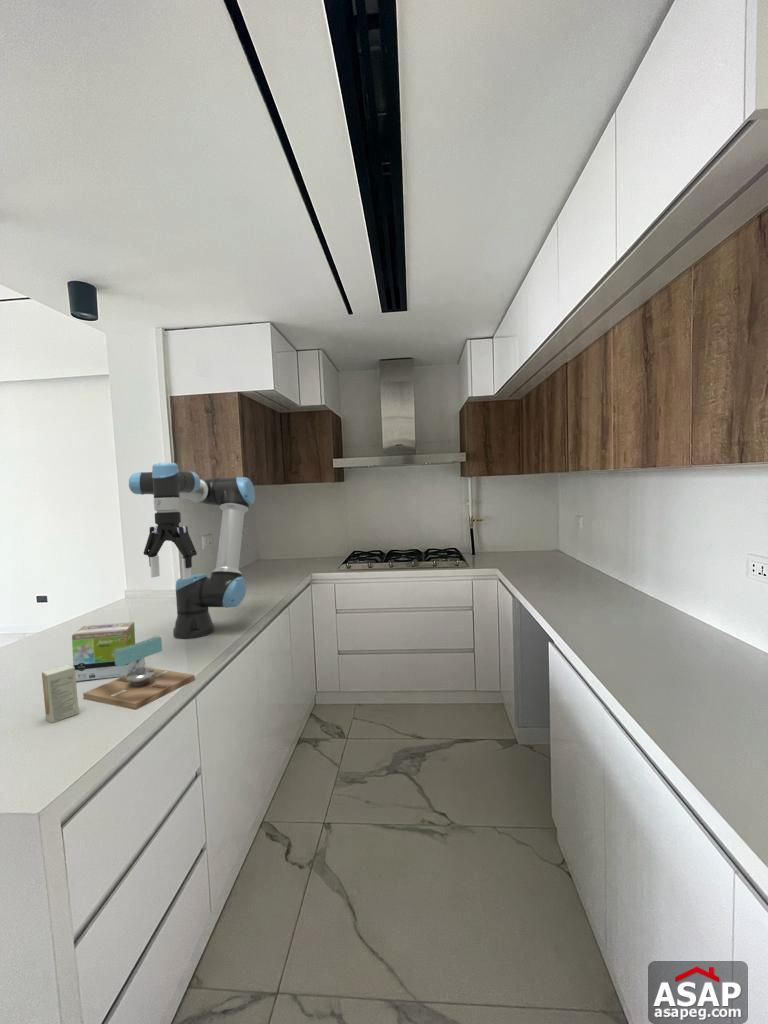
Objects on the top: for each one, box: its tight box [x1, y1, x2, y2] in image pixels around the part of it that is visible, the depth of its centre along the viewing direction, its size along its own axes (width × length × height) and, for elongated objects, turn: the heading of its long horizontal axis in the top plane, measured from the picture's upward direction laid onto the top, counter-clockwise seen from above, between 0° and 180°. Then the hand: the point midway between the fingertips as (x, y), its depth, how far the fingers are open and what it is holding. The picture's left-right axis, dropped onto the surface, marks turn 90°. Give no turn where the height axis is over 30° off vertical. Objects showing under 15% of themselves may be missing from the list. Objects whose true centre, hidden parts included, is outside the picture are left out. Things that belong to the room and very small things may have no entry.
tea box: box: [71, 621, 136, 683], centre depth 145 cm, size 15×10×15 cm, turn 105°
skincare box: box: [41, 663, 80, 724], centre depth 117 cm, size 6×4×12 cm
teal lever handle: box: [114, 634, 163, 682], centre depth 133 cm, size 7×13×10 cm, turn 155°
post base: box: [82, 666, 196, 710], centre depth 133 cm, size 20×20×3 cm
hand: (170, 577), depth 149 cm, fingers open, 13 cm apart
